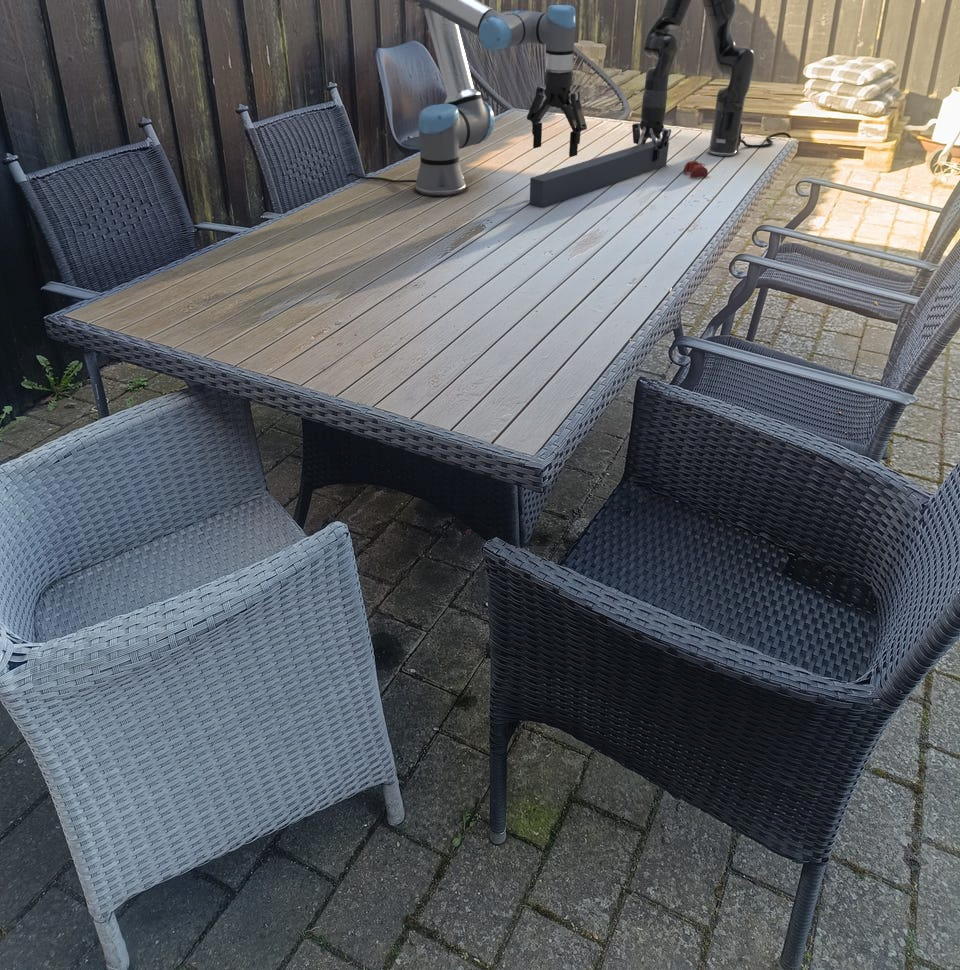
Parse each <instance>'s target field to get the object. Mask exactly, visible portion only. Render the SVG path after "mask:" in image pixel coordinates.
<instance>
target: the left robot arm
mask: <svg viewBox="0 0 960 970" xmlns="http://www.w3.org/2000/svg"><path fill="white" fill-rule="evenodd" d="M406 1H407V2H409V3H410V4H416V5H417V7H418V8H420V9H422V10H423V12H424V15H425V20H426V23H427V27H428V30H429V35H430V38H431V42H432V46H433V49H434V53H435V57H436V60H437V65H438V68H439V72H440V76H441V79H442V83H443V87H444V91H445V94H446V98H445V101H444V103H439V104H431V105H428V106H426V107H424V108H423V109H422V110H421V111H420V112H419V114H418V115H419V116H418V126H417V127H418V137H419V138H418V139H419V157H420V158H419V159H420V161H419V162H420V164H419V168H418V172H417V176H416V179H390V178H385V177H380V176H379V177H378V176H361V175H359V174H357V173H355V172H349V173H347V175H346V177H351V176H354V177H356V178H358V179H360V180H361V179H362V180H375V181H376V180H377V181H385V182H390V183H395V184H396V183H397V184H400V183H414V184H415V185H414V186H415V192H417V193H418V194H420V195H424V196H430V197H450V196H455V195H459V194H461V193H463V192H464V191H466V181H465V177H464V174H463V172H462V169H461V165H460V150H461V149H465V148H467V147H470V146H474V145H475V146H476V145H479V144H480V143H482V142H485V141H486V140H488V139H489V138H490V137H491V135H492V133H493V131H494V128H495V120H496V119H495V114H494V110H493V108H492V107H491V105H490V104H489V103H488V102H487V101H484V100H483V97H482V94H481V92H480V91H479V90H477V89H476V88H475V86H474V83H473V78H472V75H471V71H470V66H469V62H468V58H467V54H466V50H465V47H464V42H463V37H462V35H461V31H460V28H462V29H464V30H465V31H468V32H469V33H471V34H473V35H474V36H475V37H478V38H479V41H480V43H481V44H482V46H483V47H484V48H485V49H486V50H490V51H500V50H503V49H506V48H511V47H518V46H523V45H527V44H539V45H545V60H544V61H545V62H544V68H545V70H546V71H544V85H540V86H537V87H536V88H535V89H536V90H535V95H534V98H533V100H532V103H531V105H530V108H529V111H528V113H527V116H526V121H530V122H531V124H532V126H531V127H532V128H531V134H532V136H533V137H532V138H533V139H532V148H533V149H538V148H541V147H542V134H543V123H542V119H543V118H544V116H545V115H546V113H547V112H548V111H549V110H550V109H551V108H554V107H555V108H556V109H560V110H561V111H562V112H563V114H564V116H565V118H566V120H567V122H568V124H569V127H570V128H571V130H572V131H570V132H569V133H570V134H569V149H568V151H569V152H568V157H570V158H573V157H576V156H578V150H579V149H578V148H579V145H580V143H581V132H583V131H587V129H588V126H587V122H586V119H585V115H584V111H583V108H582V104H581V95H580V92H579V91H577V92H576V91H575V92H571V87H572V85H573V71H572V70H573V67H574V48H575V47H574V46H575V34H576V27H577V24H576V23H577V22H576V9H575V7H574V6H573V5H568V4H553V5H549V6H548V7H547V12H539V11H532V10H528V9H524V10H523V9H522V10H514V11H513V12H512V13H511V14H502V13H501V12H499V11H497V10H495V9H493V8H492V7H490V6H488V5H486V4H485V3H483V2H481V1H479V0H406Z"/></svg>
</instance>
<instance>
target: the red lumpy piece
mask: <svg viewBox="0 0 960 970" xmlns="http://www.w3.org/2000/svg"><path fill="white" fill-rule="evenodd" d="M689 173H690V174H689ZM708 173H709V171H708V168H707V167H706V164H704V163H702V162H699V161H697V160H690V161H687V163H685V165H684V167H683V174H689V176H690V178H702V177H705V178H706V177H708Z"/></svg>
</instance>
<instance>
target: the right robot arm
mask: <svg viewBox="0 0 960 970" xmlns="http://www.w3.org/2000/svg"><path fill="white" fill-rule="evenodd" d="M691 3H692V0H665V2H664V5H663V8H662V10H661V13H660V15H659V16H658V18H657V19H656V20H655V22H654V24H653V25H652V26H651V28H650V30H649V31H648V33H647V34H646V37H645V39H644V43H643V51H644V54H645V55H646V56H647V57H648V58H652V59H657V63H656V65H655V66H651V67H648V69H647V71H646V74H645V84H644V89H643V94H642V100H641V101H642V102H641V111H640V122H636V123H633V124H632V125H631V128H632V130H631V131H632V141H633V142H632V143H633V144H636V146H637V145H640V144H644V143H647V140H648V139H651V141H652V143H653V144H654V149H655V150H654V152H653V162H656V161H658V160H659V158H660V150H661V149H663V148H666V146H667V143H668V142H669V140H670V137H671V134H672V129H670V128H669V129H667V128H665V126H664V121H665V119H666V111H667V101H668V87H669V76H670V73H671V70H672V68H673V65H674V63H675V59H676V57H677V54H678V50H679V47H678V45H679V44H678V40H677V38H676V36H675V35H674V34H670V32H671V30H675V29H678V28H680V27H681V26H682V24H683V21H684V20H685V17H686V15H687V12H688V10H689V8H690V5H691ZM702 4H703V8H704V12H705V15H706V18H707V22H708V26H709V30H710V35H711V39H712V45H713V50H714V51H713V52H714V57H715V64H716V68H717V70H718V72H719V73H720V75H722V76H725V77H728V78H730V79H729V83H728V86H726V87H723V88H720V89H719V90H718V91H717V95H716V100H715V101H716V102H715V110H714V115H713V121H712V128H711V134H710V141H709V147H708V150H707V151H708V153H709V154H710V155H712V156H717V157H731V156H735V155H736V154H738V153H739V148H740V146H741V143H742V144H743V146H745V147H747V148H765V147H769V146H772V145H773V143H774V142H773V141H772V140H771V138H774V137H777V136H786V137H787V138H788V139H789V138H792V136H791V134H790V133H787V132H784V131H783V132H776V133H773V134H770V135H768V136H766V138H765V140H766V141H767V142H768V143H764V144H763V143H762V144H748V143H747V142H746V141H745V140H743V139H742V136H741V135H742V130H743V123H742V119H743V113H744V108H745V101H746V96H747V94H748V92H749V91H750V90H749V89H750V88H751V87H750V86H751V81H752V78H753V72H754V68H755V61H756V57H755V52H754V51H753V50H752V49H751V48H749V47H745V46H739V45H737V44H736V43H735V41H734V38H733V33H732V25H733V21H734V19H735V15H736V10H737V2H736V0H702Z"/></svg>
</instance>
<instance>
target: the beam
mask: <svg viewBox="0 0 960 970" xmlns="http://www.w3.org/2000/svg"><path fill="white" fill-rule="evenodd" d="M669 145H670V142H669V141H668V143H667V146H666V148H663V149H661V150H660V158H659V160H658V161H656V162H653V152H654V150H655V149H654V144H653V143H652V140H649V141H646V143H644V144H640V145H637V144H636V145H634V146H631V147H628V148H625V149H621V150H617V151H614V152H611V153H608V154H604V155H601V156H598V157H594V158H592V159H588V160H585V161H581V162H578V163H575V164H572V165H569V166H564V167H561V168H559V169H555V170H551V171H549V172H546V173H542V174H538V175H535V176H533V177H532V176H531V177H530V179H529V181H530V182H529V204H530V205H533V206H536V207H539V208H545V207H548V206H550V205H553V204H557V203H559V202H562V201H565V200H568V199H571V198H574V197H578V196H580V195H583V194H587V193H589V192H592V191H595V190H598V189H601V188H604V187H606V186H610V185H613V184H616V183H619V182H622V181H624V180H627V179H630V178H634V177H637V176H639V175H642V174H645V173H647V172H651V171H654V170H657V169H660V168H663V167H666V166H667V162H668V155H669V147H670V146H669Z"/></svg>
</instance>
